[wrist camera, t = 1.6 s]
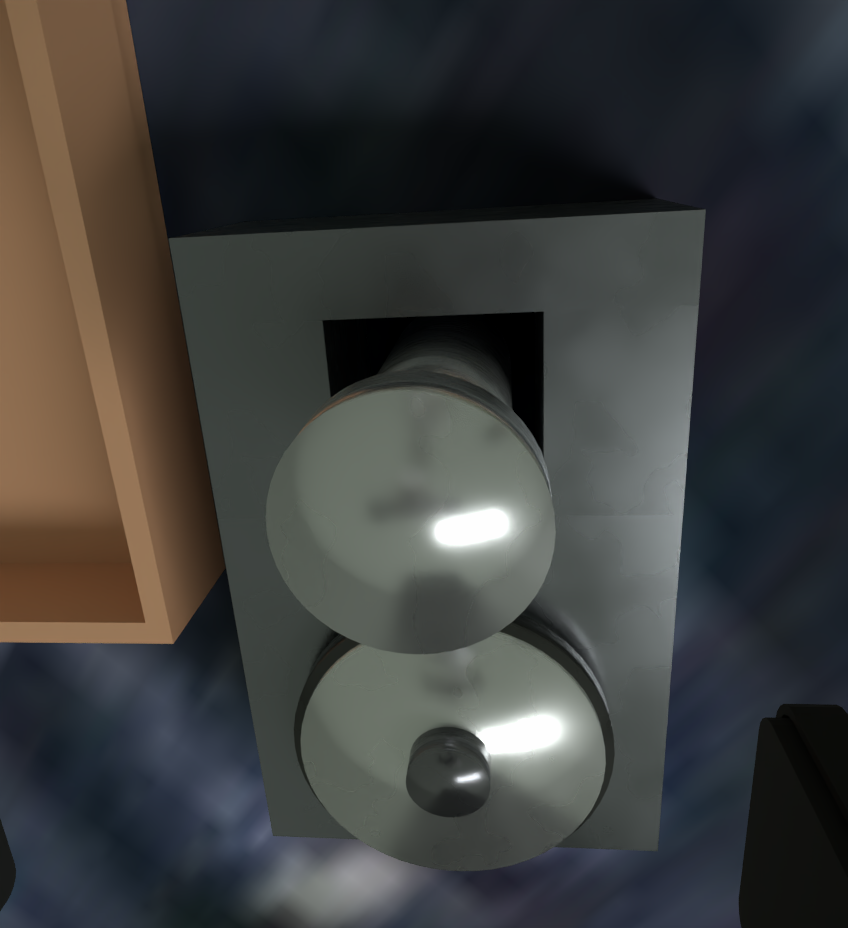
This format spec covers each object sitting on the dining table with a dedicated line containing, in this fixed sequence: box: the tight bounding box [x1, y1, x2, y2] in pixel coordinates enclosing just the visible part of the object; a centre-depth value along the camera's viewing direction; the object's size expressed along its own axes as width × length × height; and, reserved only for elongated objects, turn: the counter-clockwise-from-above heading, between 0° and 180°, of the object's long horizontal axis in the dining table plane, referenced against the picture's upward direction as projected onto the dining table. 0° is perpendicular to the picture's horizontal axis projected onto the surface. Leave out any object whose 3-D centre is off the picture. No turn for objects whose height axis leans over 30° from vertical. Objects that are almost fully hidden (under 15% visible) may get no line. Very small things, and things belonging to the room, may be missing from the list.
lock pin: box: [266, 314, 556, 654], centre depth 20 cm, size 5×5×12 cm
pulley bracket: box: [169, 198, 706, 871], centre depth 23 cm, size 20×13×8 cm, turn 3°
